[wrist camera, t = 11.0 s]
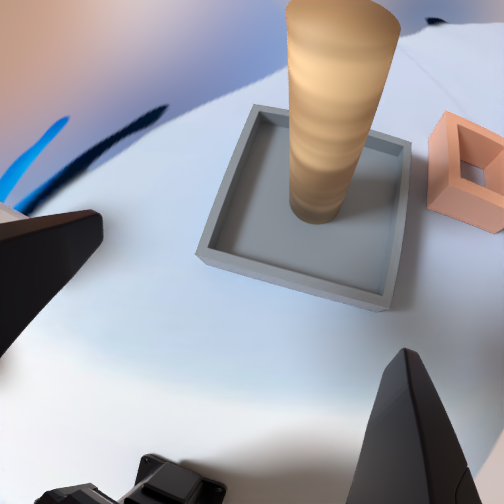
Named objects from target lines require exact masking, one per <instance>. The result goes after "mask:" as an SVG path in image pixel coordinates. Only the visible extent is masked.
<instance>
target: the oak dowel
mask: <svg viewBox="0 0 504 504" xmlns="http://www.w3.org/2000/svg"><path fill="white" fill-rule="evenodd" d="M286 19H287V40H288V41H287V42H288V75H289V138H290V176H289V203H290V207H291V209H292V211H293V213H294V214H295V215H296V216H297V217H298V218H299V219H300V220H302V221H304V222H306V223H309V224H314V225H319V224H324V223H327V222H329V221H331V220H332V219H334V218H335V217H336V215H337V214H338V212H339V210H340V208H341V205H342V203H343V200H344V198H345V195H346V192H347V190H348V187H349V185H350V182H351V180H352V177H353V174H354V172H355V169H356V166H357V164H358V161H359V158H360V156H361V153H362V150H363V147H364V144H365V142H366V139H367V136H368V133H369V130H370V128H371V125H372V122H373V119H374V116H375V113H376V110H377V107H378V104H379V101H380V98H381V95H382V92H383V89H384V85H385V82H386V79H387V76H388V73H389V69H390V66H391V63H392V59H393V56H394V52H395V49H396V46H397V42H398V38H399V35H400V30H401V28H400V24H399V22H398V20H397V19H396V18H395V16H394V15H393V14H391V12H389V11H388V10H387V9H385V8H384V7H382V6H381V5H379V4H377V3H375V2H373V1H370V0H291V1H290V2H289V3H288V5H287V7H286Z"/></svg>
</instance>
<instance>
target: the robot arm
mask: <svg viewBox="0 0 504 504" xmlns="http://www.w3.org/2000/svg"><path fill="white" fill-rule="evenodd" d="M102 241H103V219H102V215H101V214H100V213H98V212H96V211H94V210H82V211H75V212H68V213H61V214H54V215H47V216H41V217H34V218H28V219H22V220H16V221H11V222H5V223H0V358H1V357H2V355H3V354H4V353H5V352H6V351H7V349H8V348H9V347H10V346H11V345H12V343H13V342H14V341H15V340H16V339H17V337H18V336H19V335H20V334H21V333H22V332H23V330H24V329H25V328H26V327H27V326H28V325H29V324H30V322H31V321H32V320H33V319H34V318H35V317H36V316H37V315H38V314H39V312H40V311H41V310H42V309H43V308H44V307H45V306H46V305H47V304H48V303H49V302H50V301H51V299H52V298H53V297H54V296H55V295H56V294H57V293H58V292H59V291H60V290H61V289H62V288H63V287H64V286H65V285H66V284H67V283H68V282H69V281H70V280H71V279H72V278H73V276H74V275H75V274H76V273H77V272H78V271H79V269H80V268H81V267H82V266H83V265H84V263H85V262H86V261H87V260H88V259H89V257H90V256H91V255H92V254H93V253H94V252H95V251H96V249H97V248H98V247H99V246H100V245H101V243H102ZM146 459H149V460H150V463H149V462H147V460H146ZM217 488H220V489H222V490H223V491H218V490H217ZM226 492H227V487H226V486H225V485H224V484H222V483H219V482H216V481H213V480H210V479H207V478H205V477H202V476H201V475H200V474H197V473H195V472H192V471H190V470H187V469H185V468H182V467H180V466H177V465H175V464H173V463H170V462H165V461H163V460H161V459H159V458H156V457H154V456H152V455H150V454H145V455H144V456H143V457H142V458H141V461H140V465H139V469H138V473H137V477H136V481H135V485H134V488H133V489H131V490H130V491H129V492H128V493H127V494H125V495H124V496H123V497H122V498H121V499H119V500H118V501H117V502H116V501H115V500H113V499H111V498H110V497H108V496H107V495H105V494H104V493H102V492H101V491H99V490H98V488H97V487H96V486H94V485H93V484H92V483H87V484H82V485H76V486H70V487H64V488H57V489H54V490H51V491H46V492H45V493H44V494H43V495H42V496H41V497H40V498H38V499H36V500H35V502H34V504H222V502H223V500H224V497H225V495H226ZM346 504H482V502H481V500H480V497H479V495H478V492H477V489H476V486H475V483H474V481H473V478H472V475H471V472H470V470H469V467H467V462H466V459H465V456H464V454H463V451H462V449H461V446H460V444H459V441H458V439H457V436H456V434H455V431H454V429H453V427H452V424H451V422H450V420H449V417H448V415H447V413H446V411H445V408H444V406H443V404H442V402H441V400H440V397H439V395H438V393H437V391H436V389H435V387H434V385H433V383H432V380H431V378H430V376H429V374H428V372H427V370H426V368H425V366H424V364H423V362H422V360H421V358H420V356H419V355H418V353H417V352H415V351H413V350H410V349H408V348H402V349H401V350H400V351H399V352H398V353H397V355H396V356H395V357H394V358H393V360H392V361H391V362H390V363H389V364H388V366H387V367H386V368H385V370H384V372H383V375H382V379H381V382H380V386H379V389H378V392H377V396H376V399H375V402H374V405H373V409H372V412H371V415H370V418H369V421H368V424H367V428H366V432H365V436H364V440H363V445H362V449H361V453H360V457H359V460H358V464H357V468H356V471H355V475H354V478H353V482H352V485H351V488H350V492H349V495H348V498H347V501H346Z"/></svg>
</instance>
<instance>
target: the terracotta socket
mask: <svg viewBox="0 0 504 504" xmlns="http://www.w3.org/2000/svg"><path fill="white" fill-rule="evenodd" d="M460 160H463V161H465V162H467V163H470V164H472V165H474V166H476V167H479V168H481V169H483V170H484V179H485V187H482V186H480V185H478V184H475V183H473V182H471V181H468V180H466V179H464V178H461V173H460ZM426 209H429V210H432V211H435V212H438V213H441V214H444V215H446V216H449V217H452V218H454V219H457V220H460V221H462V222H465V223H468V224H470V225H473V226H475V227H478V228H480V229H483V230H485V231H488V232H490V233H493V234H495V233H497V232H498V231H500V230H502V229H503V228H504V138H503V137H501V136H499V135H497V134H496V133H494V132H492V131H490V130H488V129H486V128H484V127H482V126H480V125H477V124H475V123H473V122H471V121H469V120H467V119H464V118H462V117H460V116H458V115H455V114H453V113H451V112H448V111H446V110H445V112H444V113H443V115H442V117H441V118H440V120H439V122H438V124H437V125H436V127H435V129H434V130H433V132H432V134H431V135H430V137H429V163H428V190H427V205H426Z"/></svg>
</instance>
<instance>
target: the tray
mask: <svg viewBox="0 0 504 504" xmlns="http://www.w3.org/2000/svg"><path fill="white" fill-rule="evenodd" d="M411 145H412V142H409V141H406V140H403V139H400V138H397V137H393V136H390V135H387V134H384V133H381V132H377V131H374V130H369V133H368V136H367V139H366V142H365V144H364V147H363V150H362V153H361V156H360V158H359V161H358V164H357V166H356V169H355V172H354V174H353V177H352V180H351V182H350V185H349V187H348V190H347V192H346V195H345V198H344V200H343V203H342V205H341V208H340V210H339V212H338V214H337V215H336V217H335V218H334V219H332V220H331V221H329V222H327V223H324V224H319V225H314V224H309V223H306V222H304V221H302V220H300V219H299V218H298V217H297V216H296V215H295V214H294V213H293V211H292V209H291V207H290V203H289V176H290V138H289V110H286V109H280V108H274V107H269V106H262V105H256V104H253V107H252V109H251V111H250V114H249V116H248V118H247V121H246V123H245V125H244V128H243V130H242V133H241V135H240V138H239V140H238V142H237V145H236V147H235V150H234V152H233V155H232V157H231V160H230V162H229V165H228V167H227V170H226V172H225V175H224V177H223V180H222V183H221V185H220V188H219V190H218V193H217V196H216V198H215V201H214V204H213V206H212V209H211V212H210V214H209V217H208V220H207V222H206V225H205V228H204V231H203V233H202V236H201V239H200V242H199V245H198V247H197V250H196V253H195V255H196V256H197V257H198V258H200V259H201V260H202V261H203V262H204V263H205V264H206V265H210V266H213V267H216V268H220V269H223V270H227V271H230V272H233V273H237V274H240V275H244V276H247V277H251V278H254V279H258V280H261V281H265V282H268V283H272V284H275V285H279V286H282V287H286V288H289V289H293V290H297V291H300V292H304V293H307V294H311V295H315V296H318V297H322V298H326V299H329V300H333V301H337V302H341V303H344V304H348V305H352V306H356V307H359V308H363V309H367V310H371V311H375V312H379V311H383V310H387V309H390V306H391V301H392V297H393V292H394V287H395V282H396V277H397V272H398V266H399V260H400V254H401V248H402V242H403V235H404V227H405V220H406V211H407V202H408V192H409V180H410V166H411Z"/></svg>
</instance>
